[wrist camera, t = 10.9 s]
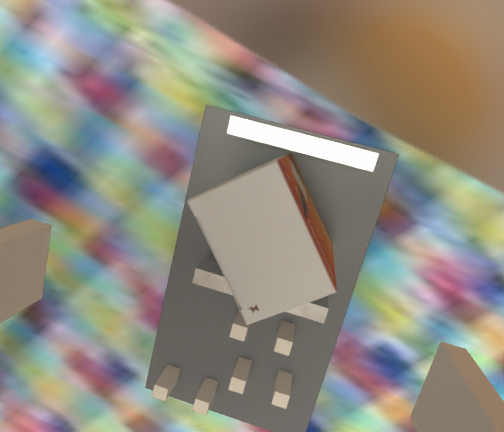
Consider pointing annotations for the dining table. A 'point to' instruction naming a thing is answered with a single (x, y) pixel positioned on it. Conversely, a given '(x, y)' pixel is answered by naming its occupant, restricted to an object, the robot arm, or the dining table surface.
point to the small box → (267, 239)
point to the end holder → (209, 267)
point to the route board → (224, 305)
